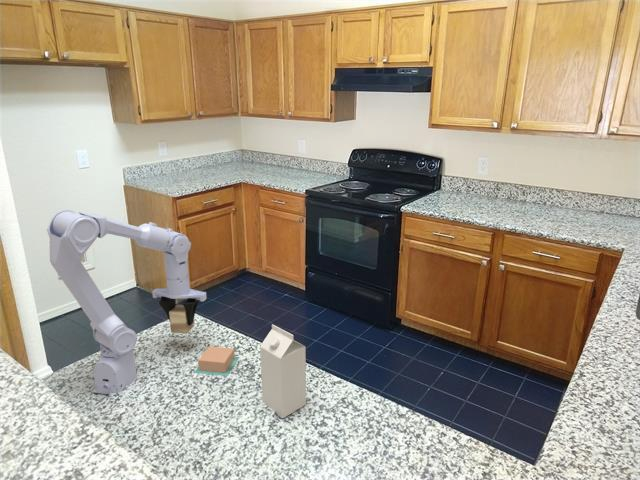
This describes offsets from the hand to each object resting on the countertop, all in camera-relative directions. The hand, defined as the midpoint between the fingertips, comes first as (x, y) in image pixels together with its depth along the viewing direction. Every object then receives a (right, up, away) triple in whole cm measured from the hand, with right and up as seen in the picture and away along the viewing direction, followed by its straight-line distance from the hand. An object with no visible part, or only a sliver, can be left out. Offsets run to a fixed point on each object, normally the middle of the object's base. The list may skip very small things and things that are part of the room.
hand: (182, 323), depth 123 cm
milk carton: (+29, -15, -20) cm, 39 cm away
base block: (+11, -10, -5) cm, 16 cm away
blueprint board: (+11, -11, -5) cm, 16 cm away
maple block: (0, -2, +1) cm, 2 cm away
